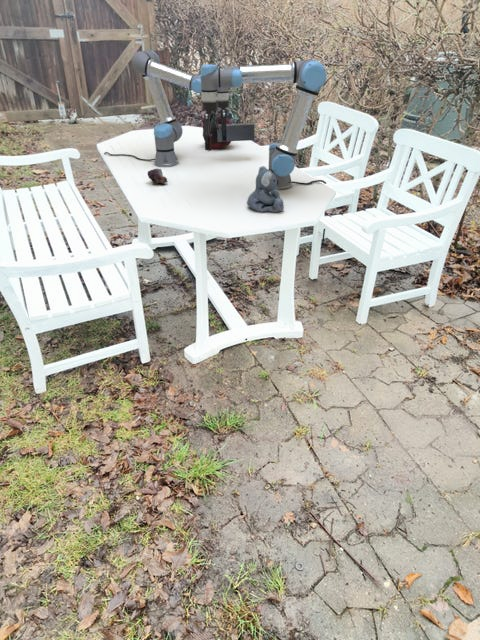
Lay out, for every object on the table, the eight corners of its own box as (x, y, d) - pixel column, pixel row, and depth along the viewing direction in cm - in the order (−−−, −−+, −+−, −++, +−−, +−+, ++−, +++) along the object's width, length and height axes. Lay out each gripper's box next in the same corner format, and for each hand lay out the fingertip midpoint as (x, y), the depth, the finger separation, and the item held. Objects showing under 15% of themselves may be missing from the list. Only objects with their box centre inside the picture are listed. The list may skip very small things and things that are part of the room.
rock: (162, 181, 267) (146, 183, 263) (160, 166, 263) (144, 168, 259) (169, 183, 258) (152, 185, 254) (167, 168, 254) (150, 170, 250)
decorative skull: (200, 122, 333) (198, 119, 310) (231, 115, 333) (232, 111, 309) (207, 152, 340) (206, 151, 317) (237, 145, 339) (238, 143, 316)
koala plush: (284, 213, 221) (286, 172, 209) (248, 214, 219) (248, 174, 208) (279, 200, 235) (281, 162, 224) (245, 202, 234) (245, 163, 223)
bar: (218, 141, 288) (217, 126, 283) (217, 139, 293) (216, 124, 287) (254, 140, 290) (254, 124, 285) (253, 138, 294) (253, 122, 289)
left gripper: (230, 102, 270) (231, 142, 283) (227, 97, 285) (228, 136, 298) (217, 102, 269) (219, 143, 283) (215, 98, 285) (217, 136, 298)
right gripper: (210, 105, 207) (212, 153, 219) (223, 97, 227) (224, 141, 239) (194, 105, 208) (197, 152, 221) (209, 97, 229) (211, 140, 241)
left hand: (224, 139), depth 290 cm, fingers closed on bar, 5 cm apart
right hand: (211, 146), depth 230 cm, fingers open, 13 cm apart
